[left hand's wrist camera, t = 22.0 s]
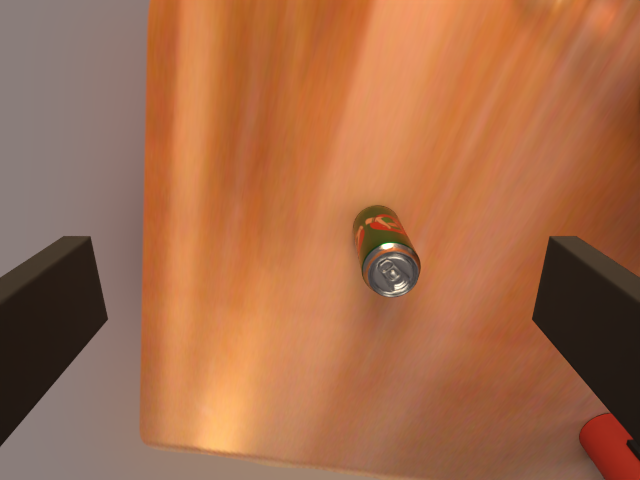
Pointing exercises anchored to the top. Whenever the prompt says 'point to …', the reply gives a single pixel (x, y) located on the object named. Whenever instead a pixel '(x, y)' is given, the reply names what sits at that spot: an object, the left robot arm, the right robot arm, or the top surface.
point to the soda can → (385, 252)
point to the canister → (610, 448)
